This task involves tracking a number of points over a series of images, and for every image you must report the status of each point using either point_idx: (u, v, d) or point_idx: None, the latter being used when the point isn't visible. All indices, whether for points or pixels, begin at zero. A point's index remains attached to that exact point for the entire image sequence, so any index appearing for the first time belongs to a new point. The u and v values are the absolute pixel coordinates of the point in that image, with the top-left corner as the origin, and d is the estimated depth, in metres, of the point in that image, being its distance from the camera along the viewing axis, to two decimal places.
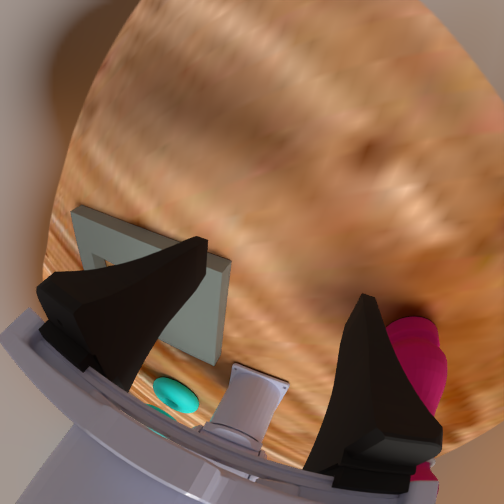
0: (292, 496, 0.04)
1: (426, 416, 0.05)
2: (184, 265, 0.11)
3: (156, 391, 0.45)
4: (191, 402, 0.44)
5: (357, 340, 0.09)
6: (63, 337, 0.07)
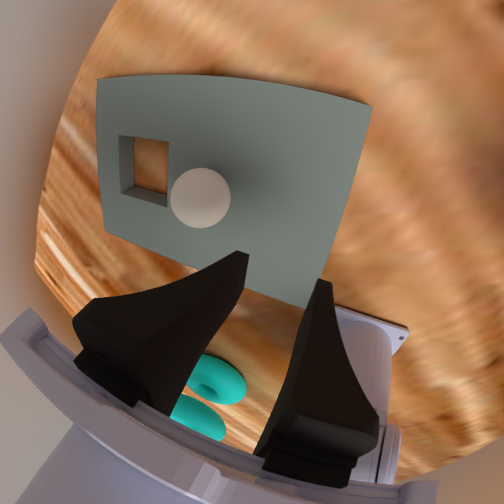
0: (293, 496, 0.04)
1: (361, 402, 0.05)
2: (229, 283, 0.10)
3: None
4: (238, 387, 0.33)
5: (306, 323, 0.09)
6: (105, 370, 0.06)
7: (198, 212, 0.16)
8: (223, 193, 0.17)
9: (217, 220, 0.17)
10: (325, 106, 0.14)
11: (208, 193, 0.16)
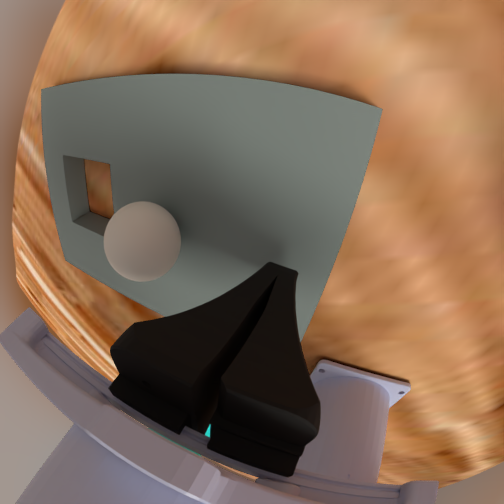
0: (293, 496, 0.04)
1: (302, 385, 0.06)
2: (266, 296, 0.10)
3: None
4: None
5: None
6: (147, 397, 0.06)
7: (133, 267, 0.12)
8: (165, 239, 0.12)
9: (162, 273, 0.13)
10: (308, 108, 0.09)
11: (143, 242, 0.11)
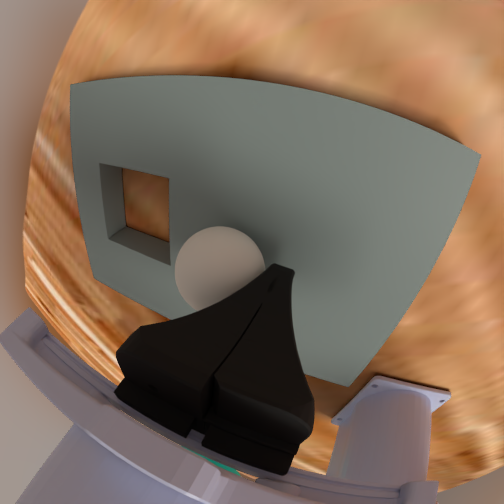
0: (292, 496, 0.04)
1: (295, 383, 0.06)
2: None
3: None
4: None
5: None
6: (153, 400, 0.06)
7: None
8: (256, 273, 0.11)
9: None
10: (420, 146, 0.08)
11: (234, 278, 0.10)
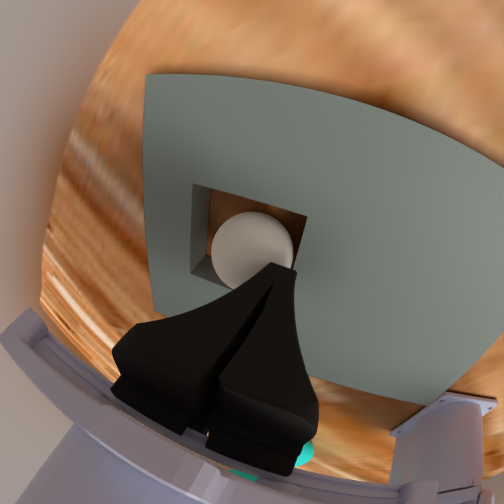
0: (292, 496, 0.04)
1: (300, 385, 0.06)
2: (268, 297, 0.10)
3: None
4: (309, 455, 0.26)
5: None
6: (149, 398, 0.06)
7: None
8: (223, 223, 0.14)
9: None
10: None
11: None
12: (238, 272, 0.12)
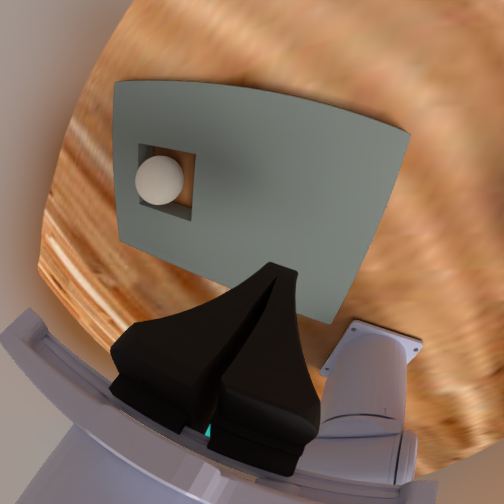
0: (292, 496, 0.04)
1: (302, 385, 0.06)
2: (266, 296, 0.10)
3: None
4: None
5: None
6: (147, 397, 0.06)
7: None
8: None
9: None
10: (365, 130, 0.14)
11: None
12: (136, 182, 0.19)
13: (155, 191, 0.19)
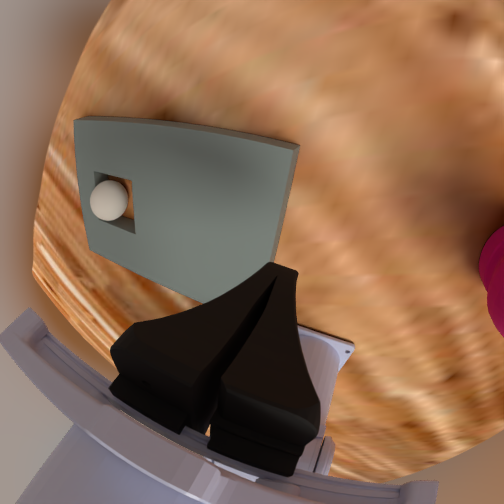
0: (293, 496, 0.04)
1: (302, 385, 0.06)
2: (266, 296, 0.10)
3: None
4: None
5: None
6: (147, 397, 0.06)
7: None
8: None
9: None
10: (251, 152, 0.17)
11: None
12: (90, 202, 0.23)
13: (100, 210, 0.23)
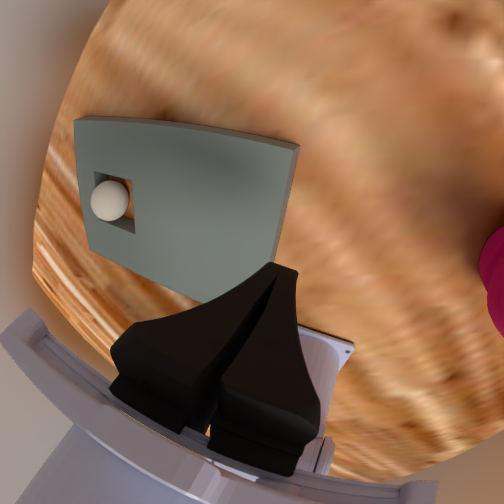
0: (293, 496, 0.04)
1: (302, 385, 0.06)
2: (266, 296, 0.10)
3: None
4: None
5: None
6: (147, 397, 0.06)
7: None
8: None
9: None
10: (251, 152, 0.17)
11: None
12: None
13: (102, 211, 0.23)
